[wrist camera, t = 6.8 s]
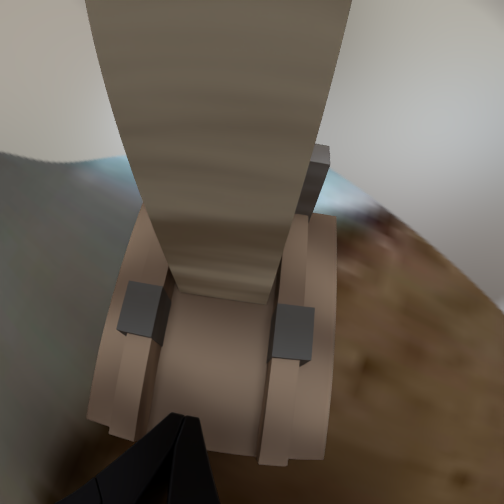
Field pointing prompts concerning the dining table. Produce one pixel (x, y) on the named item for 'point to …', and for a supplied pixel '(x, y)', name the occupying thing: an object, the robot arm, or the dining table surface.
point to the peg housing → (226, 346)
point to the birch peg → (219, 124)
